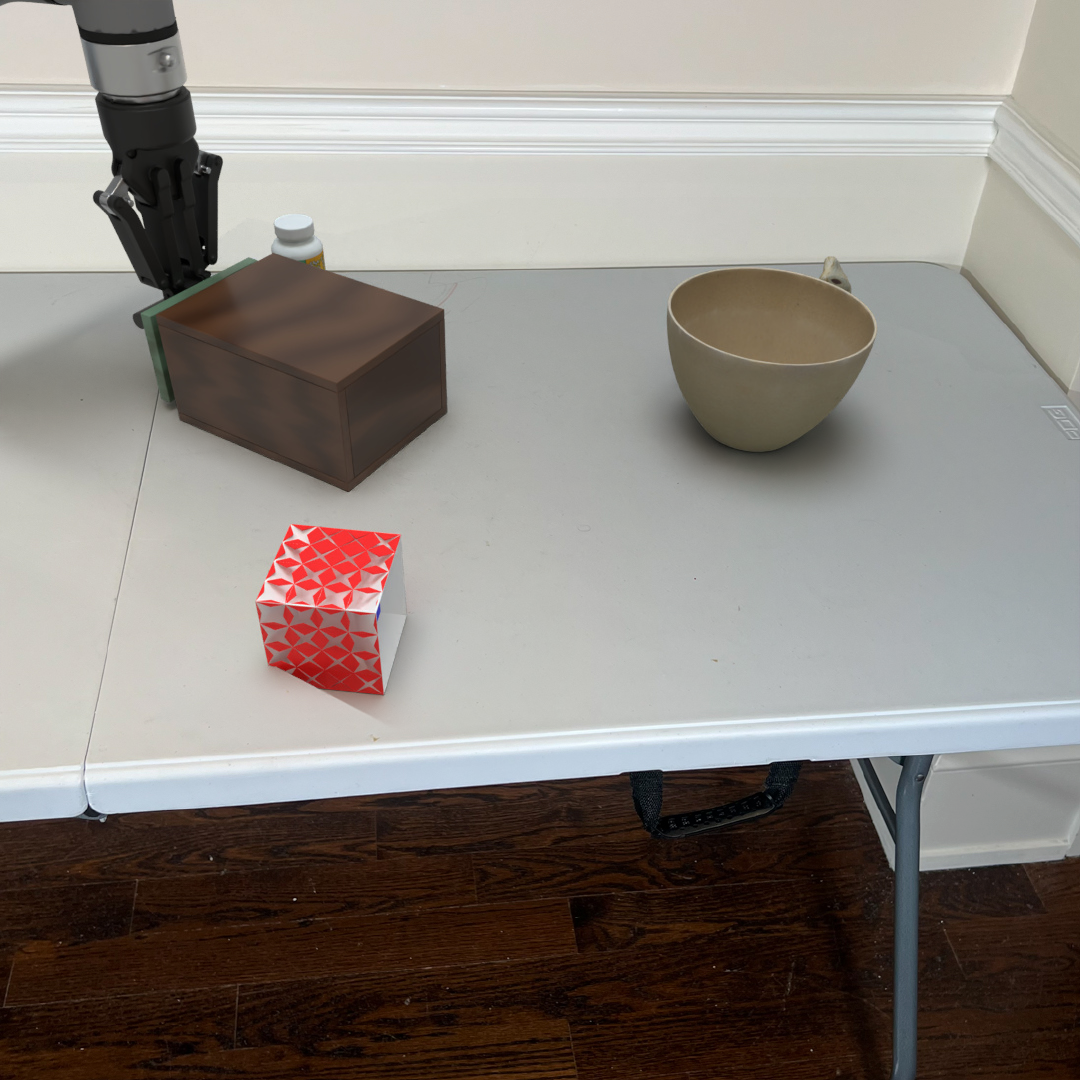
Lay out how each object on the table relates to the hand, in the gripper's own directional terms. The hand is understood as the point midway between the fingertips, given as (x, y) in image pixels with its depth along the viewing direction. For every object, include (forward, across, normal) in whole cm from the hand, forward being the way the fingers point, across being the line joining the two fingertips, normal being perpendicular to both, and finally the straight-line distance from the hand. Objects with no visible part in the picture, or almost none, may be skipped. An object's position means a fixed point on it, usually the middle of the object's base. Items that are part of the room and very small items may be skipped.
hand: (195, 342), depth 100 cm
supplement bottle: (+3, +16, 0) cm, 16 cm away
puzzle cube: (+3, -22, -36) cm, 42 cm away
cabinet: (+3, 0, -14) cm, 15 cm away
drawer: (+2, 0, -9) cm, 9 cm away
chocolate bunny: (+4, +40, -49) cm, 64 cm away
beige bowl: (+3, +21, -50) cm, 54 cm away
